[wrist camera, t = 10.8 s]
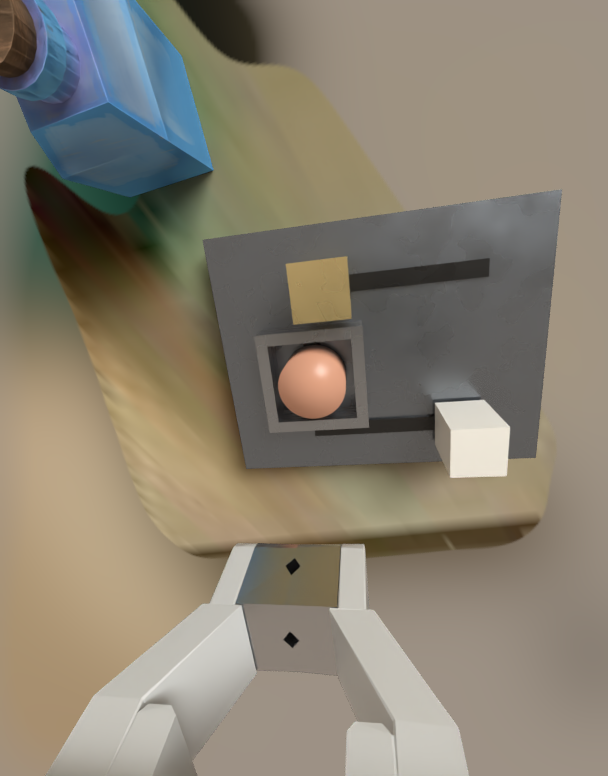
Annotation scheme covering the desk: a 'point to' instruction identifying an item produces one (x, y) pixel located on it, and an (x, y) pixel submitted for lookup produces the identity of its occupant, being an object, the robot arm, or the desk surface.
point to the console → (393, 328)
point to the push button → (313, 382)
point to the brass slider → (319, 290)
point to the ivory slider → (471, 439)
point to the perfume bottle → (102, 93)
